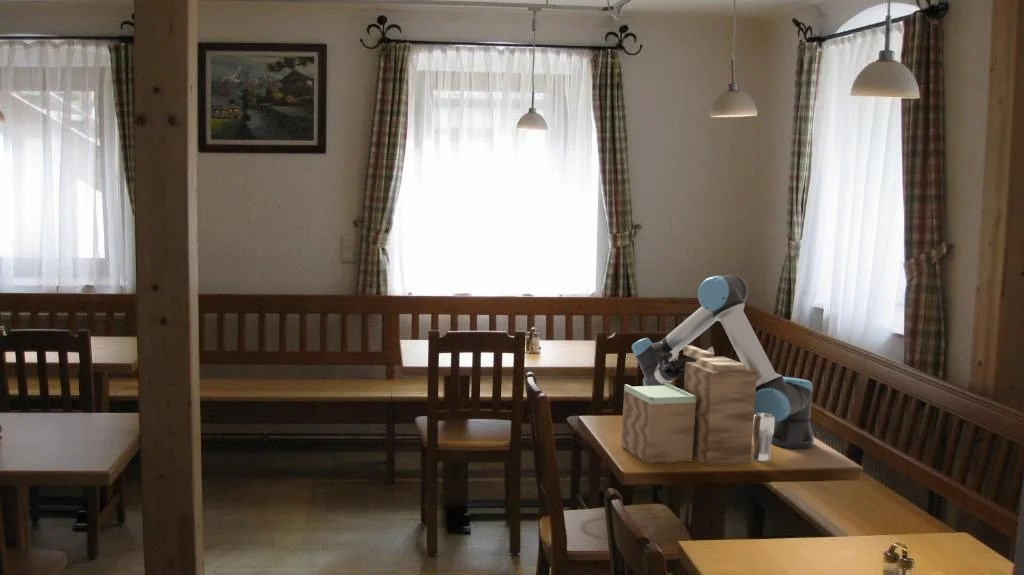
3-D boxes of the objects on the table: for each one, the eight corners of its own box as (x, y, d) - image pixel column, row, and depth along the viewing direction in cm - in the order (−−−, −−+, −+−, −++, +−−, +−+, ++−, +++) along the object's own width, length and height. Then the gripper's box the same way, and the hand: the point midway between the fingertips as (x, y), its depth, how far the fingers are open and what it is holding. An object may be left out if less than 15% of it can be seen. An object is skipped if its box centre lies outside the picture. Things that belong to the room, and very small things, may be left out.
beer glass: (772, 463, 330) (775, 418, 328) (750, 461, 331) (753, 416, 329) (771, 457, 336) (774, 413, 335) (749, 455, 338) (753, 411, 336)
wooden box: (621, 446, 342) (624, 390, 340) (663, 444, 347) (667, 388, 345) (647, 463, 323) (650, 404, 321) (692, 460, 328) (695, 402, 326)
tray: (624, 390, 340) (624, 384, 340) (667, 388, 345) (667, 383, 345) (650, 404, 321) (651, 397, 321) (695, 402, 326) (696, 396, 326)
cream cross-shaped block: (673, 354, 351) (673, 345, 351) (700, 353, 354) (700, 345, 354) (717, 371, 323) (717, 362, 322) (746, 370, 326) (746, 361, 326)
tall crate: (679, 450, 341) (685, 362, 337) (722, 448, 346) (727, 361, 342) (706, 465, 324) (712, 373, 320) (750, 463, 329) (756, 372, 325)
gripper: (701, 379, 368) (729, 360, 349) (638, 381, 360) (663, 362, 341) (697, 360, 371) (725, 340, 352) (635, 361, 363) (660, 341, 344)
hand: (695, 350), depth 347 cm, fingers open, 13 cm apart
